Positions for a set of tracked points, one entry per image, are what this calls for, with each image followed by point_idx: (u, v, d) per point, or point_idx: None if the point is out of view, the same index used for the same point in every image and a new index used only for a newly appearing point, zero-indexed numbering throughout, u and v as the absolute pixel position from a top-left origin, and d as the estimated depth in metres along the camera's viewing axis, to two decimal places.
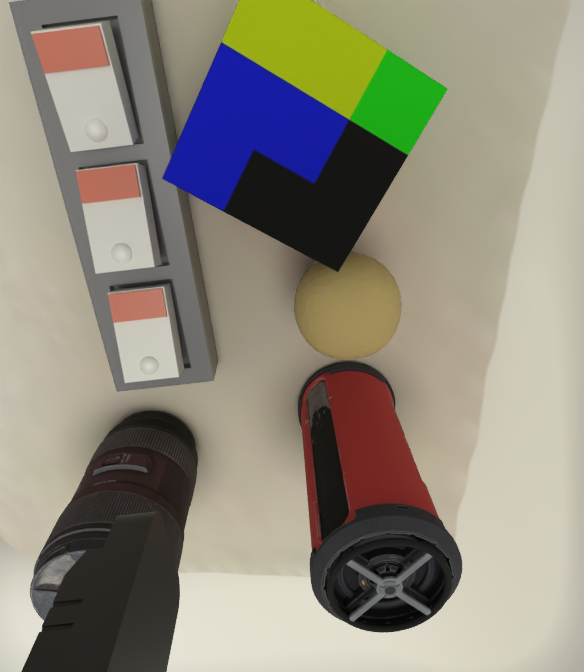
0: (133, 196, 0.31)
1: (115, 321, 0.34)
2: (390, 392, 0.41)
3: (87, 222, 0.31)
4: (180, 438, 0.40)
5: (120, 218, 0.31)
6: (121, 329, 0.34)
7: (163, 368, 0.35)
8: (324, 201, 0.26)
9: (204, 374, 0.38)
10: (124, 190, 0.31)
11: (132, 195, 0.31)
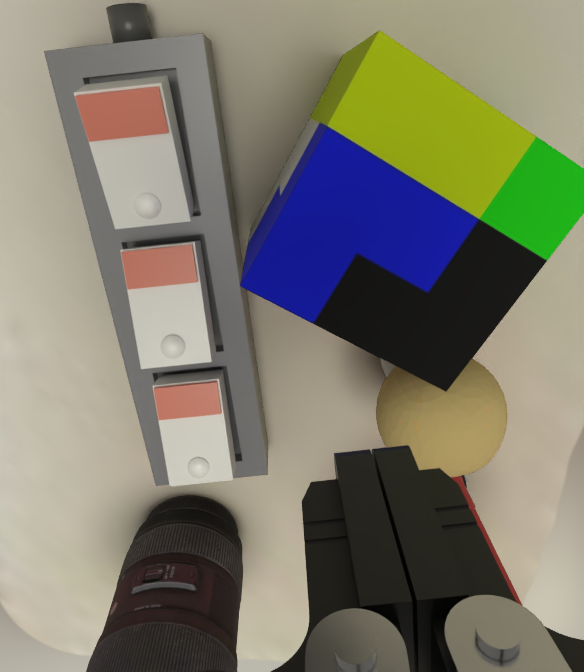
0: (189, 282, 0.26)
1: (161, 418, 0.29)
2: (462, 480, 0.36)
3: (132, 310, 0.26)
4: (225, 533, 0.35)
5: (172, 306, 0.26)
6: (167, 426, 0.29)
7: (215, 470, 0.30)
8: (438, 313, 0.21)
9: (257, 467, 0.33)
10: (178, 274, 0.25)
11: (188, 280, 0.26)
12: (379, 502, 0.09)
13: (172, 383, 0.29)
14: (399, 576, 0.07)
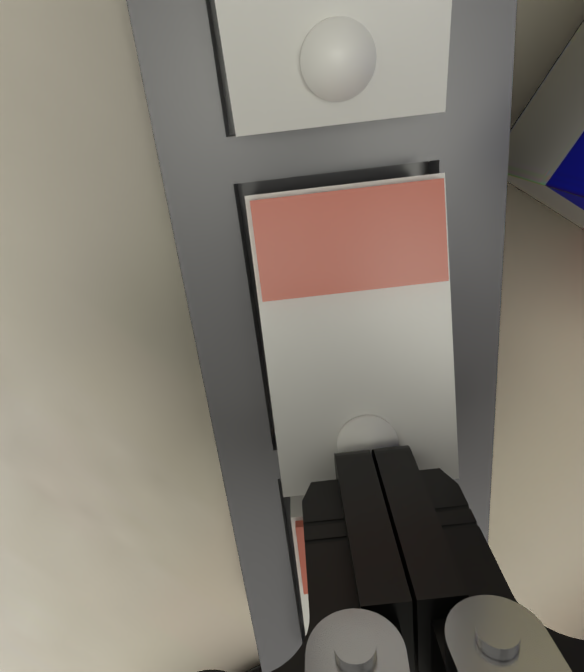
0: (427, 281, 0.10)
1: None
2: None
3: (270, 354, 0.10)
4: None
5: (373, 343, 0.10)
6: None
7: None
8: None
9: None
10: (402, 261, 0.10)
11: (425, 276, 0.10)
12: (379, 502, 0.09)
13: None
14: (399, 576, 0.07)
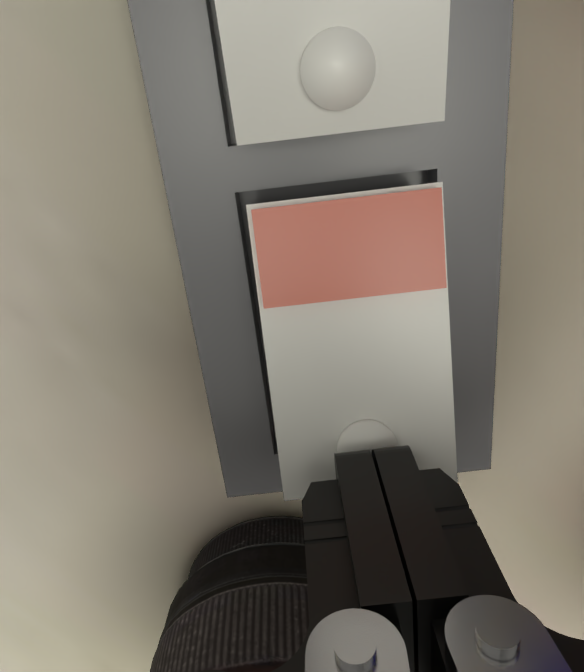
0: None
1: (271, 304, 0.10)
2: None
3: None
4: None
5: None
6: (284, 331, 0.10)
7: None
8: None
9: (470, 453, 0.14)
10: None
11: None
12: (379, 502, 0.09)
13: (303, 199, 0.10)
14: (399, 576, 0.07)
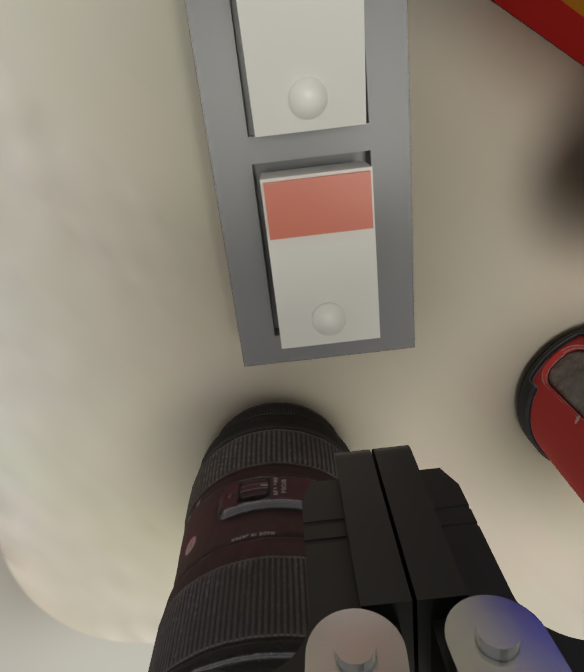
0: None
1: (274, 237, 0.17)
2: None
3: (243, 29, 0.15)
4: (340, 448, 0.24)
5: (311, 21, 0.15)
6: (282, 252, 0.18)
7: (354, 323, 0.19)
8: None
9: (400, 335, 0.21)
10: None
11: None
12: (379, 502, 0.09)
13: (292, 176, 0.17)
14: (399, 576, 0.07)
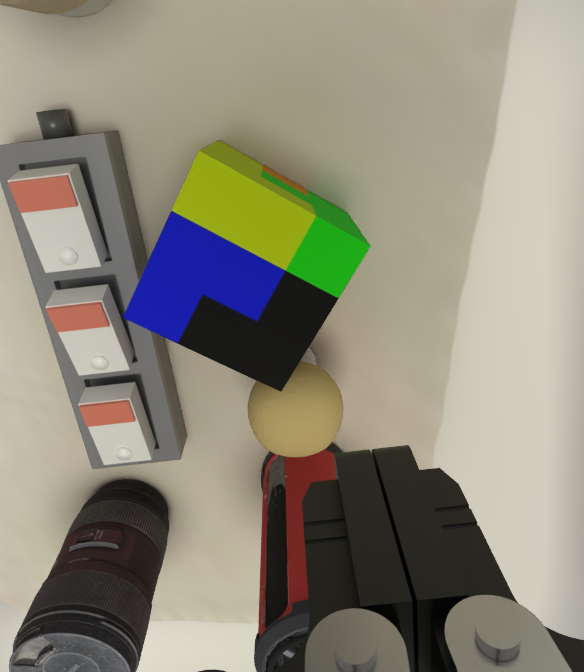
0: (103, 326, 0.34)
1: (88, 426, 0.37)
2: None
3: (64, 342, 0.35)
4: (151, 508, 0.43)
5: (93, 339, 0.35)
6: (95, 429, 0.38)
7: (137, 454, 0.39)
8: (266, 335, 0.30)
9: (172, 454, 0.41)
10: (94, 322, 0.34)
11: (102, 325, 0.34)
12: (379, 502, 0.09)
13: (93, 401, 0.36)
14: (399, 576, 0.07)
